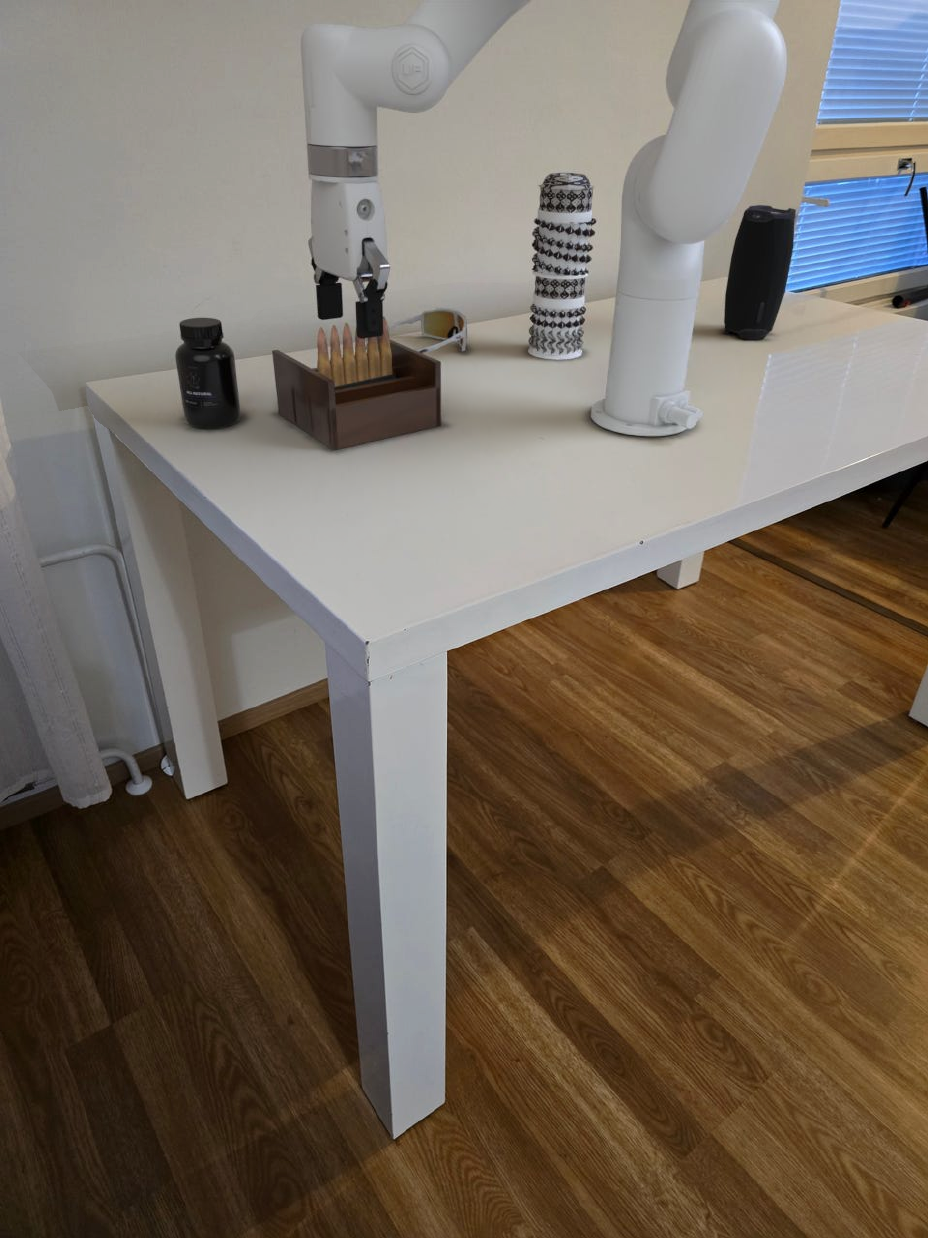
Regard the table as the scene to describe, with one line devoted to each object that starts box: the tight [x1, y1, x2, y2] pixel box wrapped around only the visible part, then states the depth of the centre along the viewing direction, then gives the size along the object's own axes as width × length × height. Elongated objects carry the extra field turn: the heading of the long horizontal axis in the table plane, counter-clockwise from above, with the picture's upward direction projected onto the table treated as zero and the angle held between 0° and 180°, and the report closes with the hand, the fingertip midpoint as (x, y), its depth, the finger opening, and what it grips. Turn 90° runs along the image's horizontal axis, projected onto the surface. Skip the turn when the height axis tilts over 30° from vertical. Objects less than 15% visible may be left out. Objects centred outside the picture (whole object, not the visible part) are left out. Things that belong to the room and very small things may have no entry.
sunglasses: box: [365, 307, 468, 354], centre depth 133 cm, size 14×15×5 cm
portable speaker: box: [723, 204, 797, 341], centre depth 139 cm, size 9×9×20 cm
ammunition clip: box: [316, 315, 395, 390], centre depth 103 cm, size 11×2×12 cm, turn 129°
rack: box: [271, 336, 442, 451], centre depth 104 cm, size 15×15×8 cm
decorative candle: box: [527, 172, 597, 361], centre depth 127 cm, size 9×9×25 cm
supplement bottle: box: [174, 317, 242, 430], centre depth 102 cm, size 7×7×12 cm
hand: (349, 327), depth 100 cm, fingers open, 9 cm apart
